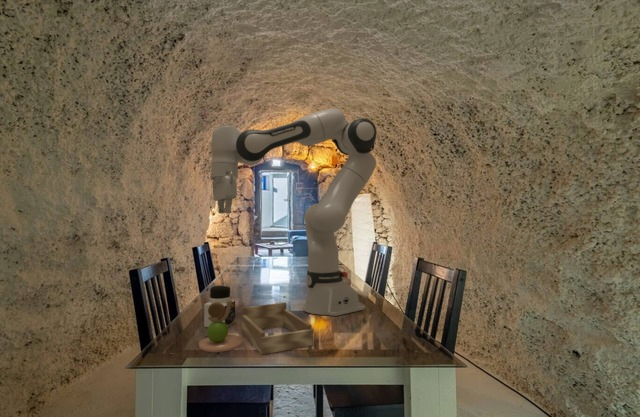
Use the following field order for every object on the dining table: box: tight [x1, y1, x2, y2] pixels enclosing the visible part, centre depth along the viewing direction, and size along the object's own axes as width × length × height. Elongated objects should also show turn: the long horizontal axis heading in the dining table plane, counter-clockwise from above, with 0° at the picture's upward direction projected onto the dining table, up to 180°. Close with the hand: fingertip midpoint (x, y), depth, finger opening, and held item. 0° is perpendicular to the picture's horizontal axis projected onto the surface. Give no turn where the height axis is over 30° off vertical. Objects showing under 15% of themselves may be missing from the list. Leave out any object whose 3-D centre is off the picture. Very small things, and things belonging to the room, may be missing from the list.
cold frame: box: [240, 302, 314, 356], centre depth 99 cm, size 14×20×7 cm
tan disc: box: [198, 333, 243, 353], centre depth 94 cm, size 11×11×1 cm
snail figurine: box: [206, 295, 233, 342], centre depth 94 cm, size 5×6×12 cm
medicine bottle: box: [203, 284, 236, 328], centre depth 112 cm, size 7×7×12 cm
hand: (224, 213), depth 121 cm, fingers open, 8 cm apart
